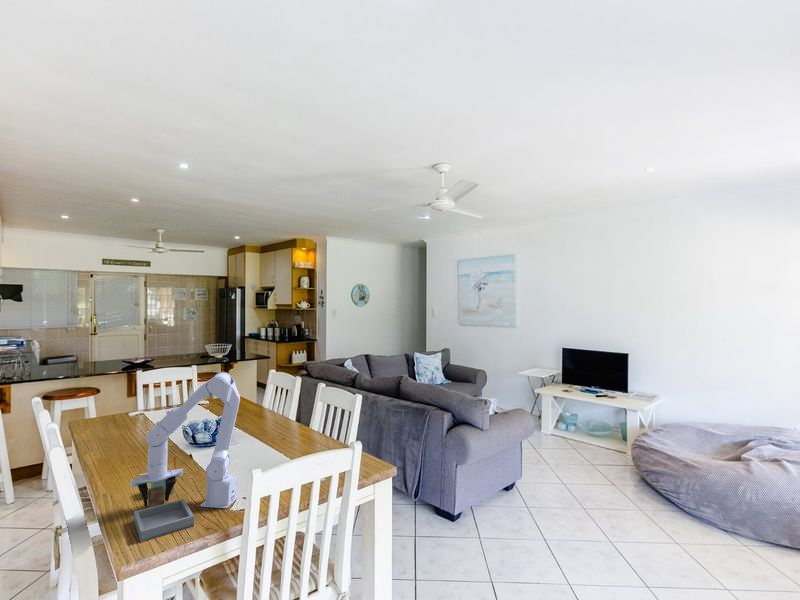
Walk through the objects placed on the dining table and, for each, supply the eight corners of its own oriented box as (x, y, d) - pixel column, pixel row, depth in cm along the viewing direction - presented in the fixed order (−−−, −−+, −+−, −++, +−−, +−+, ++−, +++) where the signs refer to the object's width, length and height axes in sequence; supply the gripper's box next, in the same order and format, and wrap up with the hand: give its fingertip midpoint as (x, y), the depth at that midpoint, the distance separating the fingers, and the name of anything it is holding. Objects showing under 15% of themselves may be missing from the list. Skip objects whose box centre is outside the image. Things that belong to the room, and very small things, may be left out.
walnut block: (161, 503, 138) (162, 485, 138) (164, 507, 135) (164, 489, 135) (148, 506, 136) (148, 488, 136) (150, 511, 133) (150, 493, 133)
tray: (183, 507, 136) (183, 498, 136) (194, 526, 125) (194, 516, 125) (133, 521, 127) (133, 511, 127) (140, 542, 116) (140, 531, 116)
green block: (169, 487, 150) (170, 465, 150) (173, 493, 146) (173, 471, 146) (150, 491, 146) (151, 469, 146) (153, 498, 142) (154, 475, 142)
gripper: (179, 453, 143) (177, 492, 143) (130, 463, 134) (128, 504, 134) (183, 460, 138) (182, 500, 138) (133, 470, 129) (131, 513, 129)
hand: (156, 502), depth 136 cm, fingers open, 5 cm apart
